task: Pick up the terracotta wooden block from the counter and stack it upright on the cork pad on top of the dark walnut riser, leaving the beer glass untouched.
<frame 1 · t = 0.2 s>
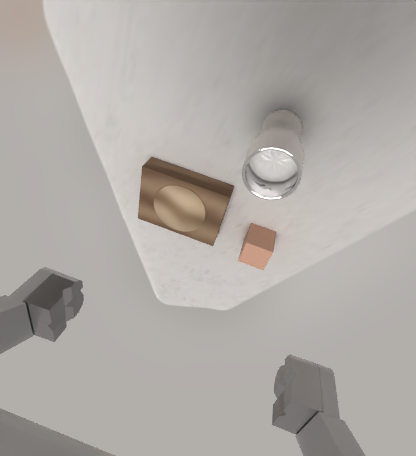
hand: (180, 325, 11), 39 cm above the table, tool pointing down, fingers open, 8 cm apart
walnut riser: (186, 197, 56), on the table
terracotta block: (259, 236, 57), on the table
beer glass: (281, 129, 44), on the table
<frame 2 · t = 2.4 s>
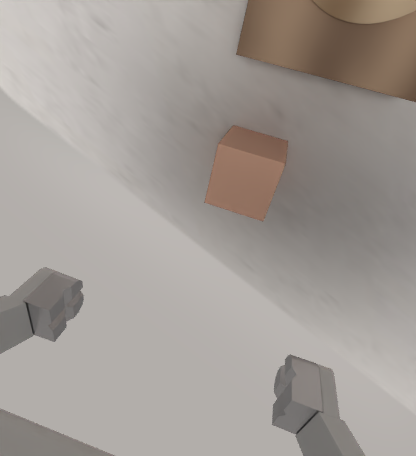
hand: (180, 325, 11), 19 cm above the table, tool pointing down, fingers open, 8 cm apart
terracotta block: (252, 159, 27), on the table
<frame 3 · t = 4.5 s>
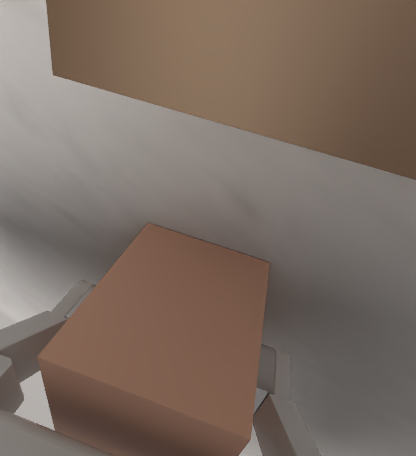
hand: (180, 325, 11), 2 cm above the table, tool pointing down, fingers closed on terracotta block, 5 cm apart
terracotta block: (196, 286, 13), on the table, touching gripper
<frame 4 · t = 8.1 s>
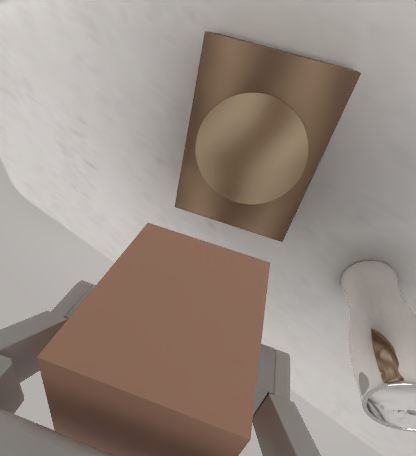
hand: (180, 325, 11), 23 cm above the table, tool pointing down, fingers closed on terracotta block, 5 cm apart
walnut riser: (254, 141, 29), on the table
terracotta block: (195, 286, 13), point 21 cm above the table, touching gripper
beer glass: (367, 278, 35), on the table
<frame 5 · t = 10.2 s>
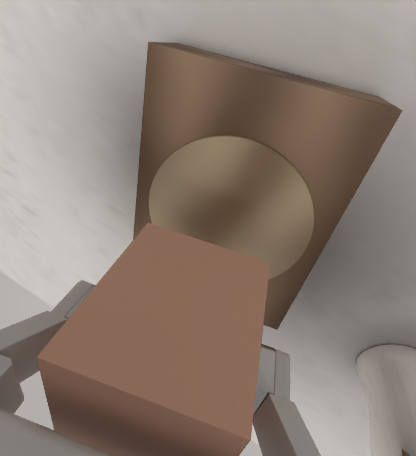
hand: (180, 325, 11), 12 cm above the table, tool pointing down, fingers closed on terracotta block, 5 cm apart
walnut riser: (237, 191, 21), on the table
terracotta block: (196, 286, 13), point 10 cm above the table, touching gripper
beer glass: (391, 363, 26), on the table
when the fingers open (7 cm above the table, at t = 12.0 s): terracotta block stays where it is, resting on walnut riser.
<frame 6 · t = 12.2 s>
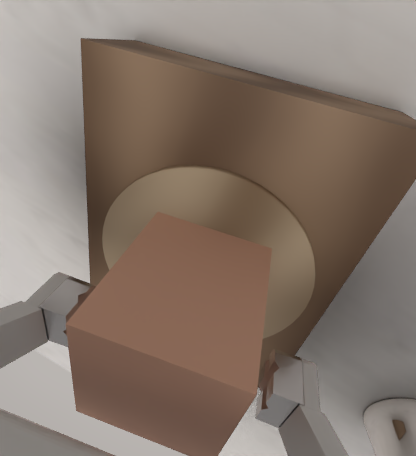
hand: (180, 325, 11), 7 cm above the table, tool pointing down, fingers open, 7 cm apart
walnut riser: (220, 223, 17), on the table
terracotta block: (202, 272, 13), point 4 cm above the table, touching walnut riser
beer glass: (405, 417, 22), on the table
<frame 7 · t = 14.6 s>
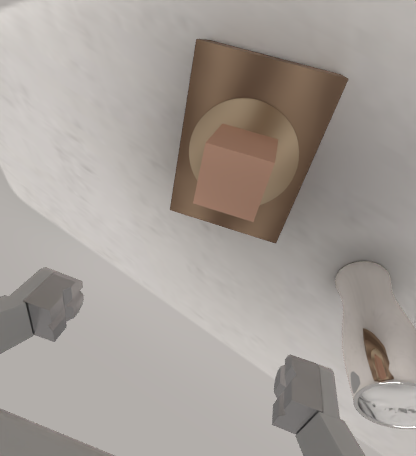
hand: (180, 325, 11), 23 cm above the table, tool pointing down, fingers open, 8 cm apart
walnut riser: (247, 144, 30), on the table
terracotta block: (242, 158, 26), point 4 cm above the table, touching walnut riser
beer glass: (361, 279, 35), on the table
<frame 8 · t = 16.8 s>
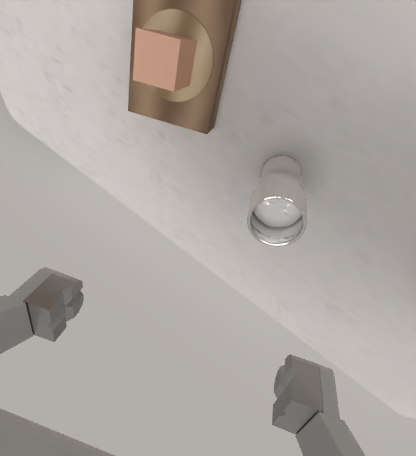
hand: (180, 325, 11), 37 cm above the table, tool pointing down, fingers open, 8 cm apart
walnut riser: (184, 57, 40), on the table
terracotta block: (174, 58, 36), point 4 cm above the table, touching walnut riser
beer glass: (281, 173, 45), on the table
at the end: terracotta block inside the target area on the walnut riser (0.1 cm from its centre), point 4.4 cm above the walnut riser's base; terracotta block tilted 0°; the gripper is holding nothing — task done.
